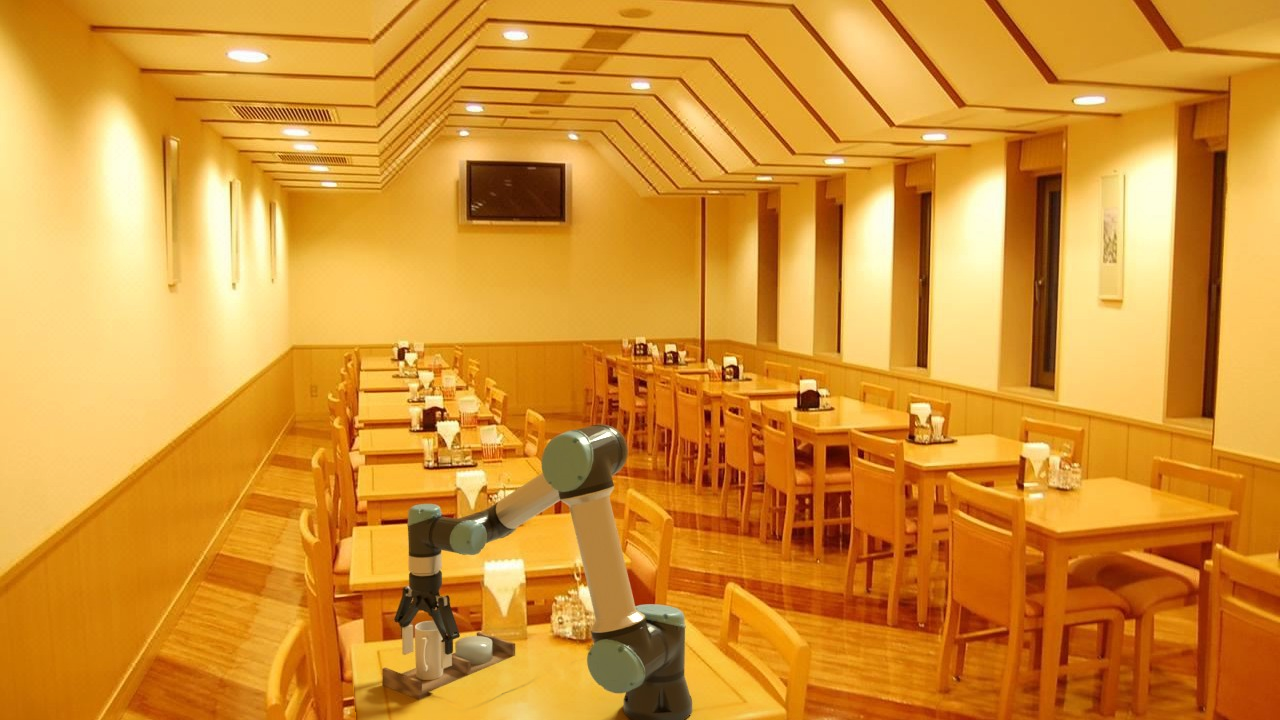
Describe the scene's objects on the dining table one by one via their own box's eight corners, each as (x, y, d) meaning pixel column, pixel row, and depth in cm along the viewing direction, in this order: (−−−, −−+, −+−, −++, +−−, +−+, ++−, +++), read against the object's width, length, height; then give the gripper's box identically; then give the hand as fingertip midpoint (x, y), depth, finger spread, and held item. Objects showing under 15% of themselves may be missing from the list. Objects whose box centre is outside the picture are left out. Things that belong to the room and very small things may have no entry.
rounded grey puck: (500, 657, 250) (499, 641, 250) (473, 668, 243) (472, 652, 243) (474, 648, 256) (474, 633, 255) (447, 659, 249) (447, 643, 248)
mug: (419, 668, 243) (419, 620, 241) (447, 669, 242) (447, 621, 241) (407, 686, 233) (407, 635, 231) (436, 687, 232) (436, 636, 231)
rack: (515, 659, 252) (515, 643, 251) (419, 699, 228) (419, 682, 227) (479, 647, 260) (478, 631, 259) (382, 685, 236) (382, 668, 235)
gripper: (474, 577, 231) (475, 667, 233) (403, 558, 246) (405, 643, 248) (449, 585, 225) (450, 677, 227) (378, 565, 240) (380, 652, 242)
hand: (426, 659), depth 237 cm, fingers open, 13 cm apart
